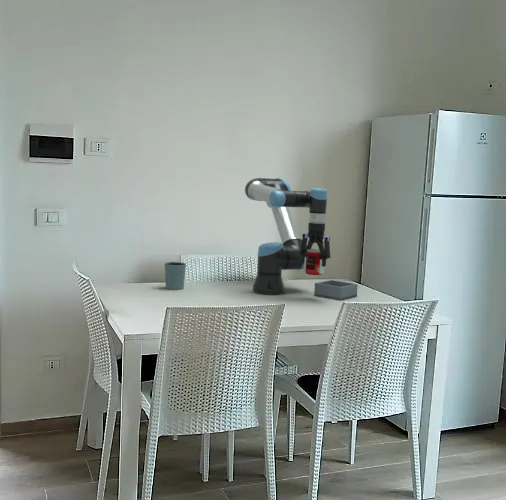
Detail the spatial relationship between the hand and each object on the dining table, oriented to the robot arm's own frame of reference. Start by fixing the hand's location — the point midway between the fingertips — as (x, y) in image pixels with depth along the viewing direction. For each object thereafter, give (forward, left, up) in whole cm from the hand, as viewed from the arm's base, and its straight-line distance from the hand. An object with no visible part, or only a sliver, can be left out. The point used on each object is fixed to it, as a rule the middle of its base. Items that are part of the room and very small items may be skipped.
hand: (313, 272), depth 317 cm
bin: (+3, +15, -12) cm, 20 cm away
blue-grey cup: (-58, -31, -13) cm, 67 cm away
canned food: (0, 0, -1) cm, 1 cm away
